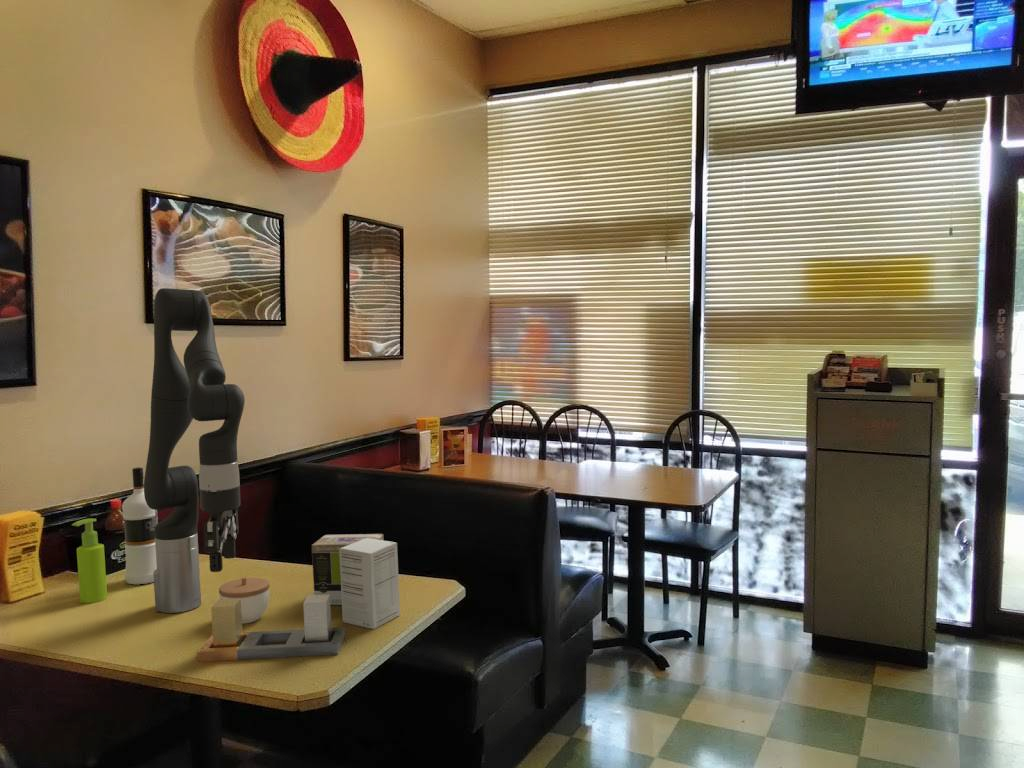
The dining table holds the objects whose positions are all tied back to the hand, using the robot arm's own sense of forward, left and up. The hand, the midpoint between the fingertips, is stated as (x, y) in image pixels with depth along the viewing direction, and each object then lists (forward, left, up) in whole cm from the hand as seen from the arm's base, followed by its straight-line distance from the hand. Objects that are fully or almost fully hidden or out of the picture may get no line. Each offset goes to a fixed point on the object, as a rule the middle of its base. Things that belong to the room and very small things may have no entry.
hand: (223, 564), depth 155 cm
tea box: (+21, +28, -18) cm, 39 cm away
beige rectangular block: (0, 0, -18) cm, 18 cm away
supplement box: (+27, +14, -18) cm, 36 cm away
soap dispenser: (-43, +36, -18) cm, 59 cm away
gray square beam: (+18, 0, -18) cm, 26 cm away
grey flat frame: (+9, 0, -18) cm, 20 cm away
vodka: (-36, +50, -18) cm, 64 cm away
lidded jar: (-1, +18, -18) cm, 26 cm away
